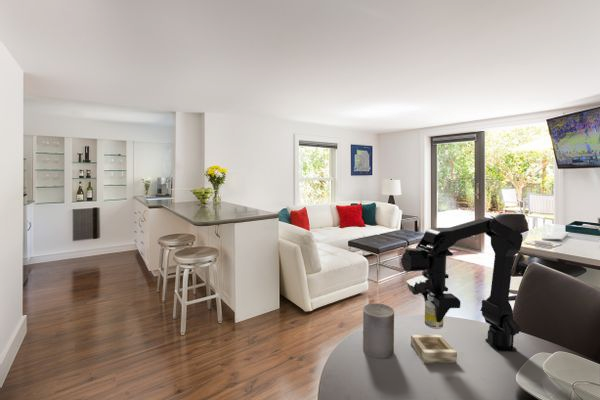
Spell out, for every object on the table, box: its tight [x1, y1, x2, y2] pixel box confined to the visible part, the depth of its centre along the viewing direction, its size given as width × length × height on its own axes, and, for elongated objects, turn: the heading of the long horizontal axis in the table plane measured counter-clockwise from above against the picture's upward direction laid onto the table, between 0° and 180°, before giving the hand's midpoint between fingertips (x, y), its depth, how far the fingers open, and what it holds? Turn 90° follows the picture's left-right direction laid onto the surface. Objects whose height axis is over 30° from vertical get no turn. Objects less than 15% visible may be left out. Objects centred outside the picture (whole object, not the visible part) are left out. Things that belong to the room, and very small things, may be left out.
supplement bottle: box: [424, 293, 444, 330], centre depth 92 cm, size 5×5×10 cm
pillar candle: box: [362, 302, 395, 360], centre depth 94 cm, size 10×10×15 cm
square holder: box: [410, 334, 458, 364], centre depth 93 cm, size 10×10×3 cm
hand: (434, 317), depth 92 cm, fingers closed on supplement bottle, 5 cm apart
